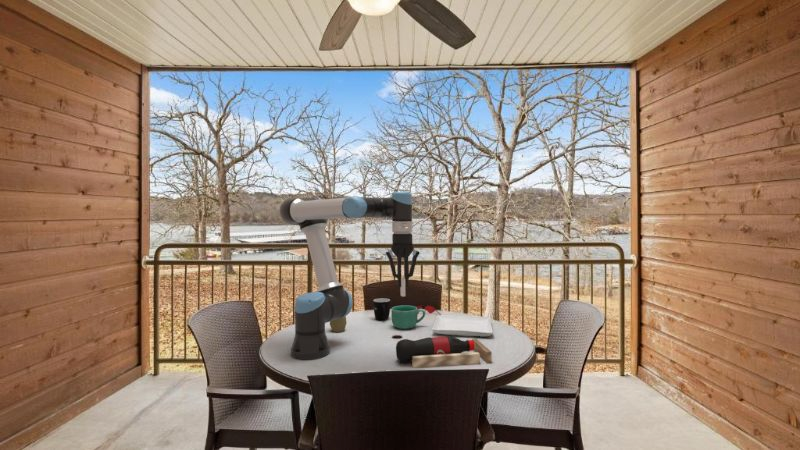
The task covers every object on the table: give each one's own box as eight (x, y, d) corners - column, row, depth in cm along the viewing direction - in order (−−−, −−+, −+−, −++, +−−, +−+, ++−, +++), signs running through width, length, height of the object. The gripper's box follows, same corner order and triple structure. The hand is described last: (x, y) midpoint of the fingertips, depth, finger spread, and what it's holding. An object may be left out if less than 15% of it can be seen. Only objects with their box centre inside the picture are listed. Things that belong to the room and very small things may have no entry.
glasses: (435, 313, 226) (435, 304, 226) (443, 321, 210) (442, 311, 210) (410, 314, 224) (410, 305, 224) (416, 322, 208) (416, 312, 208)
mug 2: (391, 331, 191) (390, 311, 191) (392, 323, 204) (391, 305, 203) (426, 331, 191) (425, 311, 191) (424, 323, 203) (424, 305, 203)
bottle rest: (413, 367, 145) (413, 356, 145) (405, 352, 161) (405, 342, 160) (491, 362, 149) (491, 351, 149) (476, 348, 165) (476, 338, 165)
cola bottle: (399, 368, 147) (476, 360, 153) (400, 347, 145) (478, 340, 151) (395, 355, 155) (468, 349, 161) (395, 335, 153) (470, 329, 159)
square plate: (431, 337, 182) (431, 328, 182) (437, 321, 209) (436, 314, 209) (493, 340, 177) (493, 331, 177) (490, 323, 204) (490, 316, 204)
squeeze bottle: (348, 332, 190) (348, 293, 189) (331, 333, 187) (331, 295, 186) (344, 327, 197) (344, 290, 197) (328, 329, 194) (327, 292, 194)
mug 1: (372, 317, 216) (372, 298, 216) (388, 316, 218) (388, 298, 218) (375, 323, 205) (375, 303, 204) (393, 322, 206) (393, 302, 206)
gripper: (386, 233, 146) (386, 298, 147) (421, 233, 148) (421, 296, 149) (383, 232, 154) (384, 294, 154) (417, 232, 156) (418, 293, 156)
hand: (402, 295), depth 152 cm, fingers closed
